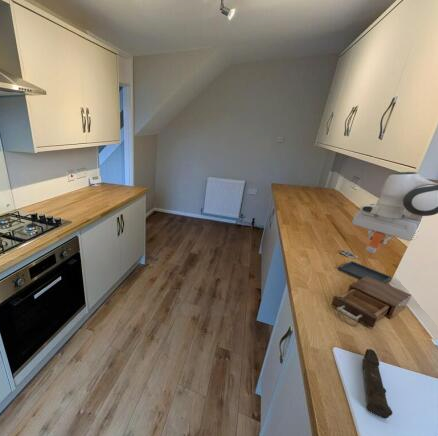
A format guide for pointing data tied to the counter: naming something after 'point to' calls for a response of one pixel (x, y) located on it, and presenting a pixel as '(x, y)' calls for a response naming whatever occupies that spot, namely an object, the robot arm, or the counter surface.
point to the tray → (363, 272)
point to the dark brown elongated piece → (375, 386)
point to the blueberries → (348, 254)
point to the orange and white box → (375, 242)
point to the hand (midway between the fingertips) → (376, 241)
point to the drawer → (360, 307)
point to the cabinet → (382, 294)
